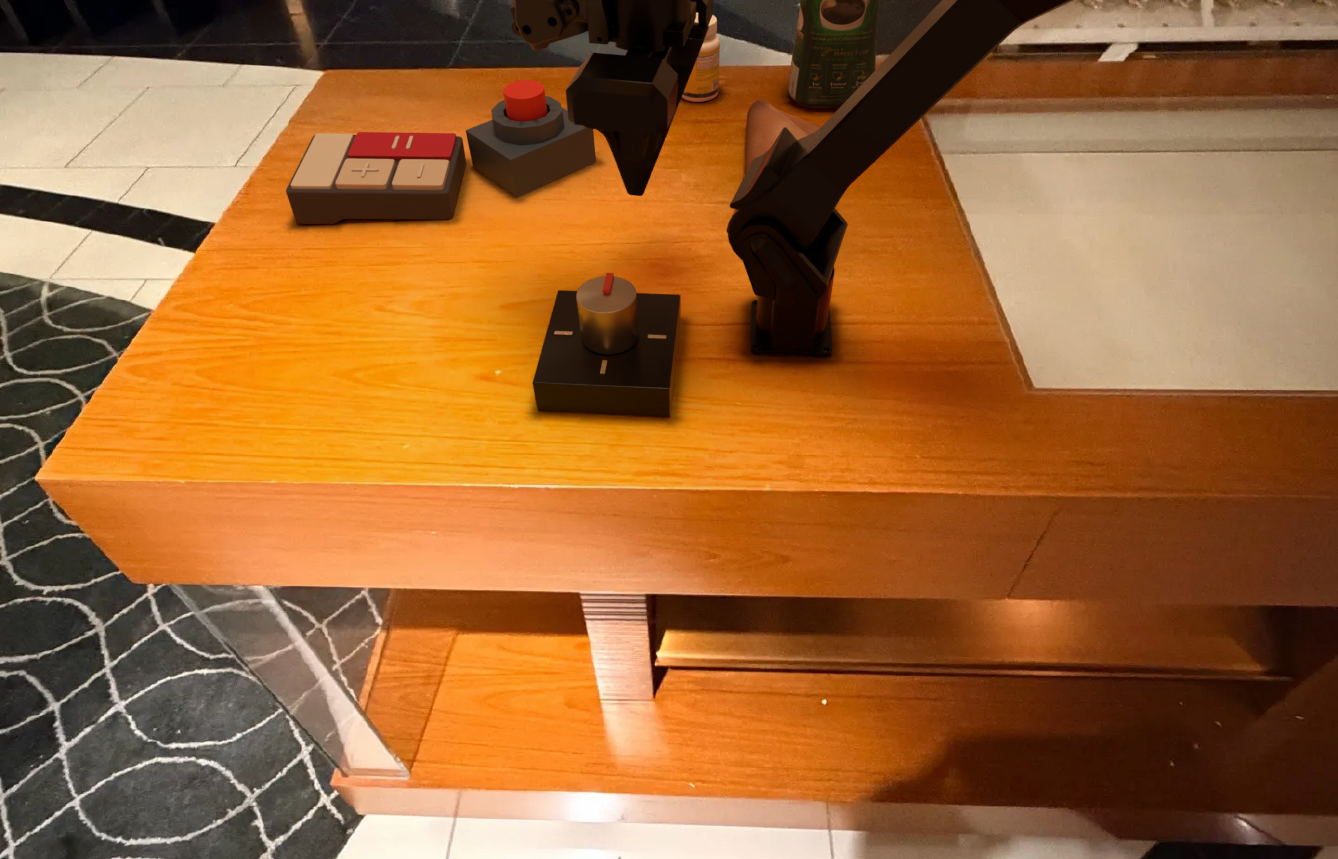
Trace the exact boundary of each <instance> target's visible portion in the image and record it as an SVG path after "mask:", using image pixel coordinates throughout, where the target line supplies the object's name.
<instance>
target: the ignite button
mask: <svg viewBox="0 0 1338 859" xmlns="http://www.w3.org/2000/svg"><path fill="white" fill-rule="evenodd" d="M545 89H546V88H545V85H544V84H542V82H539V81H537V80H531V79H520V80H516V81H512V82H511V83H508V84H506V85H505V86H504V87H503V90H502V95H503V100H504V101H505V107H506V113H507V117H508V119H510V120H514V121H520V122H525V121H534V120H537V119H540V118H542V117H545V116H546V115H547V104H546V97H545V96H546V90H545Z"/></svg>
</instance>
